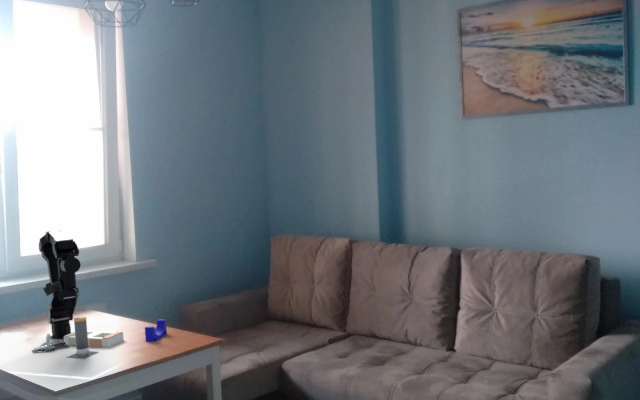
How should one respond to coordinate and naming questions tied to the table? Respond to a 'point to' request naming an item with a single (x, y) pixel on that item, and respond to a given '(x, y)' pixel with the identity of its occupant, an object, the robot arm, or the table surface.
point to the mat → (82, 356)
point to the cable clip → (156, 331)
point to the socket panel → (97, 338)
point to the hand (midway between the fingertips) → (71, 315)
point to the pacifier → (47, 344)
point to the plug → (81, 336)
